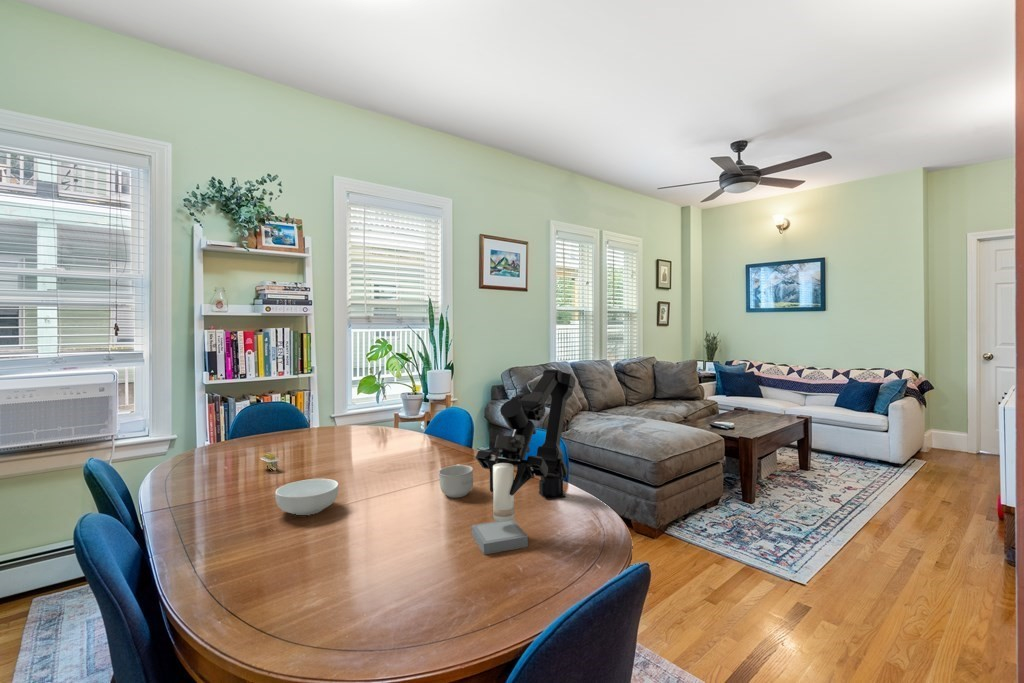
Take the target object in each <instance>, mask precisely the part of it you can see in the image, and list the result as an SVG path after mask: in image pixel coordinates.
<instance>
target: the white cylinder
mask: <svg viewBox="0 0 1024 683" xmlns="http://www.w3.org/2000/svg"><path fill="white" fill-rule="evenodd" d="M514 473H515V471H514V465H512V464H509V463H498V464H495V465H493V492H492V497H493V498H492V500H493V501H492V504H493V505H492V513H493V516H492V517H493V519H494V521H495V522H496V521H501V522H506V521H511V520H515V494H514V495H513V496H511V495H510V490H511V487H512V484H513V481H514V479H515V474H514Z"/></svg>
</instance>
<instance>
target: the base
mask: <svg viewBox="0 0 1024 683" xmlns="http://www.w3.org/2000/svg"><path fill="white" fill-rule="evenodd" d="M471 536H472V537H473V539H474V541H475V543H476V545H477V546H478V547H479V549H480V551H481V553H482V554H483V555H489V554H495V553H501V552H504V551H505V552H507V551H512V550H516V549H523V548H528V547H529V536H528V534H526V532H525V531H524V530H523V529H522V528H521V527H520V526H519V524H518V523H517V522H516V521H515V519H513V520H511V521H506V522H501V521H496V520H495V521H490V522H483V523H477V524H476V523H475V524H472V525H471Z"/></svg>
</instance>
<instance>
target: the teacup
mask: <svg viewBox="0 0 1024 683" xmlns="http://www.w3.org/2000/svg"><path fill="white" fill-rule="evenodd" d="M473 471H474V468H473V467H472V466H470V465H464V464H461V463H457V464H456V465H455V464H454V465H449V466H445V467H442V468H441V469H439V470H438V473H437V474H438V476H439V477H438V478H439V479H438V480H439V487H440V490H441V492H442V494H444V495H446V497H448V498H453V499H455V498H457V499H458V498H461V497H463V498H464V497H465V496H467V495H468V494H469V493H470V492H471V490H473V487H474V472H473Z"/></svg>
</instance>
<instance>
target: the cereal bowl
mask: <svg viewBox="0 0 1024 683" xmlns="http://www.w3.org/2000/svg"><path fill="white" fill-rule="evenodd" d="M339 486H340V485H339V482H338V481H336V480H334V479H330V478H310V479H309V478H308V479H302V480H297V481H293V482H289V483H287V484H284V485H281V486H280V487H278V488H277V489H275V495H274V496H275V501H276V502H275V503H276V505H277V506H278V508H279V509H280V510H281V511H282V512H286V513H287V514H288V513H289V514H293V515H294V514H296V515H308V516H311V515H310V514H313V515H315V513H316V514H318V513H320V512H322V511H323V510H324V509H326V508H328V507H329V506H332V504H333V503H335V501H336V500H337V498H338V495H339ZM296 515H295V516H296Z"/></svg>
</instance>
